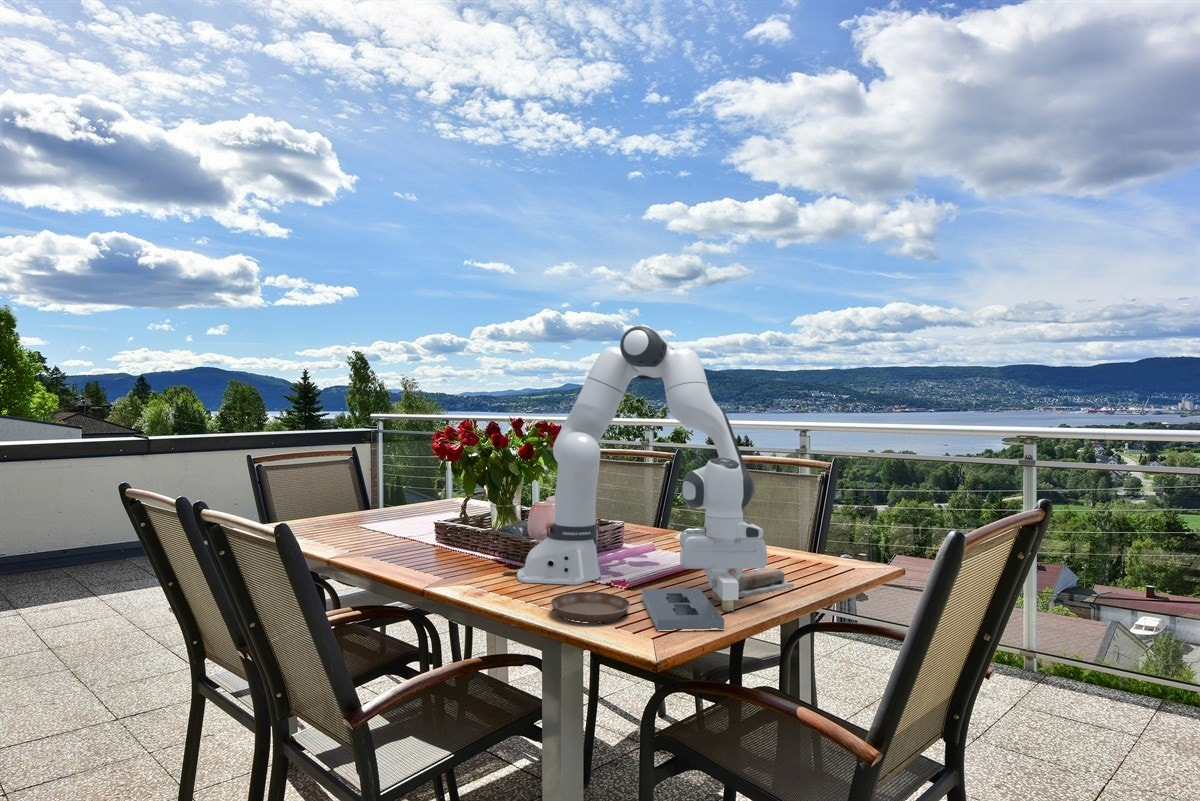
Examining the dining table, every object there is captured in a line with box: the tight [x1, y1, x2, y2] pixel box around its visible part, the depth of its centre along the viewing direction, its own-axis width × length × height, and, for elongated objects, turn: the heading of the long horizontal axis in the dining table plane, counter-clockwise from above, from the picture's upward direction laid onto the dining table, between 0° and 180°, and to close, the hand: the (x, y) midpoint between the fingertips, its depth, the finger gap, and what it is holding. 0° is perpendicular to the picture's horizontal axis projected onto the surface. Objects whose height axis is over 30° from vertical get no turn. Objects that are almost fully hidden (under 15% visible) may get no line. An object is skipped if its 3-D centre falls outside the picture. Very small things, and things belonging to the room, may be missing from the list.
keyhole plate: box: [641, 588, 725, 631], centre depth 164 cm, size 24×14×2 cm, turn 5°
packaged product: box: [730, 568, 795, 598], centre depth 187 cm, size 18×5×10 cm
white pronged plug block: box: [709, 569, 739, 613], centre depth 172 cm, size 14×4×7 cm, turn 5°
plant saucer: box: [550, 591, 631, 623], centre depth 164 cm, size 18×18×3 cm
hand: (722, 587), depth 172 cm, fingers closed on white pronged plug block, 4 cm apart
